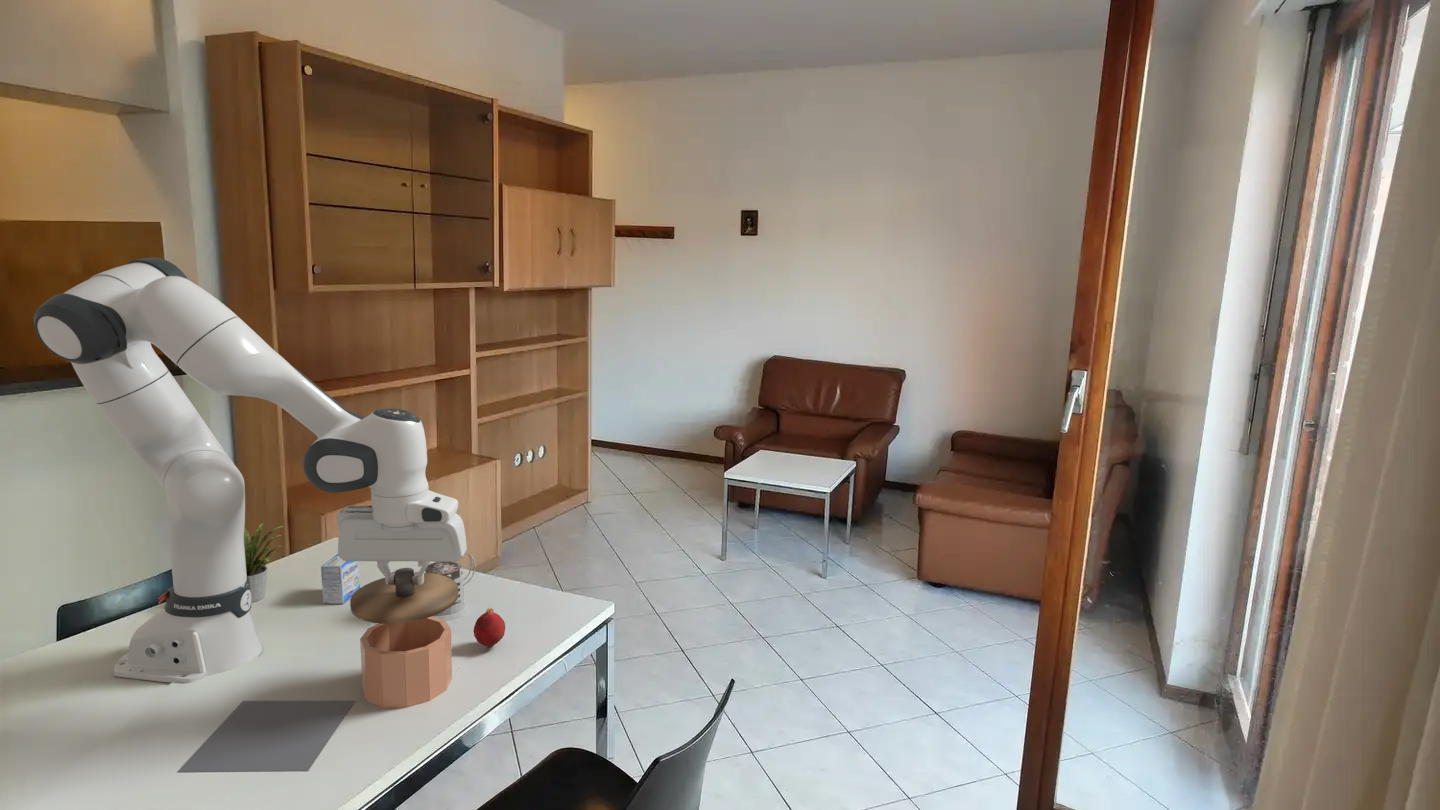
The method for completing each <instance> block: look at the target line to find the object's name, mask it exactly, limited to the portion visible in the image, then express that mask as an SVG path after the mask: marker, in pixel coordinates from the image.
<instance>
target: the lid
mask: <svg viewBox="0 0 1440 810" xmlns="http://www.w3.org/2000/svg"><path fill="white" fill-rule="evenodd" d="M394 572H395V585H386V584H385V577H382V578H380V579H377V580H373V581H371V582H369V583H367V584H366V583H365V585H363V586H360V589H358V590H357V591H356V592H355V593H354V594H353V595H352V597H351V598H350V599H349V602H350V605H349V606H350V612H351V613H352V615H353V616H355V617H356V618H357V619H360V620H362V621H365V622H367V623H374V624H378V623H382V624H394V623H405V622H412V621H417V620H421V619H425V618H428V617H431V616H434V615H436V614H439V613H441V612H443V611H445V610H446V609H448V608H449V607H451V606H452V605H453V604H454V603H455V602H456V600H457V598H458V585H457V583H456V582H455V581H454V580H452V579H451V578H449V577H446V576H443V575H439V574H433V573H426V572H424V582H423V584H422V585H412V582H413V580H412V575H413V574H414V573H415V570H414V569H413V568H412V567H402V568H398V569H396V570H395V571H394Z"/></svg>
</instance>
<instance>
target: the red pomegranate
mask: <svg viewBox="0 0 1440 810" xmlns="http://www.w3.org/2000/svg"><path fill="white" fill-rule="evenodd" d="M505 632H506V623H505V621H504V619H503V618H502V616H501V615H499V614H498V613H496V612H494V608H492V607H488V608H487V609H486V611H485V612H484V613H483V614H481V615H480V616H479V617H478V618H477V619H476V621H475V624H474V627H473V636H474V638H475V640H476V641H477V643H479V644H480V645H481V646H484V647H487V648H488V649H489V648H493V647H494V646H495V645H496V644H498V643H499V642H501V640H502V639H503V638H504V636H505Z"/></svg>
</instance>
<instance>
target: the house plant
mask: <svg viewBox="0 0 1440 810" xmlns="http://www.w3.org/2000/svg"><path fill="white" fill-rule="evenodd" d="M263 526H264V522H261V523H260V524H259V526H258V527H257V529H256V531H255V533H254V535H252V536H250V533H249V531H248V530H247V528H246V526H244V547H245V561H246V574H247V576H248V577H249V580H250V588H251V604H252V603H256V602H259V601H261V600H263V599H264V598H265V596H266V589H267V579H268V578H267V577H268V569H269V567H268V566H267V565H266V562H264V561H267V562H268V563H270V561H271V559H272V558H271V556H270V555H271V554H272V553H273V552H274V551H277V552H279V550H278V548H279V547H282V546H284V544H281V545H278V546H275V547H274V548H272V547H270V548H267V547H268V546H269V544H270V543H271V542H272V541H273V540H276V539H277V537H280V536H282V534H279V535H275V536H273V537H269V536H270V535H272V533H274V532H275V531H276V530H278V529H280V528H283V527H286V526H287V525H280V526H277V527H275V528H272V529H270V530H269V531H268V532H267V533H266V534H265V535H264V536H263V538H262V539H261V541H260V542H259V540H260V537H261V535H262V531H263ZM267 540H268V541H267ZM265 541H267V542H266V544H265V545H264V547H263V549H262V551H260V552H259V550H260V549H261V547H262V546H263V544H264V543H265ZM258 543H259V544H258ZM258 552H259V553H258ZM267 552H268V553H267ZM265 553H267V554H266V555H265V556H264V557H263V558H261V557H262V556H263V555H264V554H265ZM260 558H261V559H260Z"/></svg>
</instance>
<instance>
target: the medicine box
mask: <svg viewBox="0 0 1440 810" xmlns="http://www.w3.org/2000/svg"><path fill="white" fill-rule="evenodd" d="M320 575H321V586H322V587H321V588H322V600H323V601H322V602H323V604H329V605H330V604H331V605H334V604H335V605H344V604H346V602H348V601H349V600H350V599H351V597H352V595H353V594H354V593H355V592H356V591H357V590H358V589H360V588H361V580H360V579H361V578H360V577H361V576H360V561H343V560H342V559H341V558H340V557H339V555H338V553H337V554H336V555H334V556H333V557H332V558H330V559H329V560H328V561H326V562H325V563H324V564H322V565H321V566H320Z"/></svg>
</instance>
